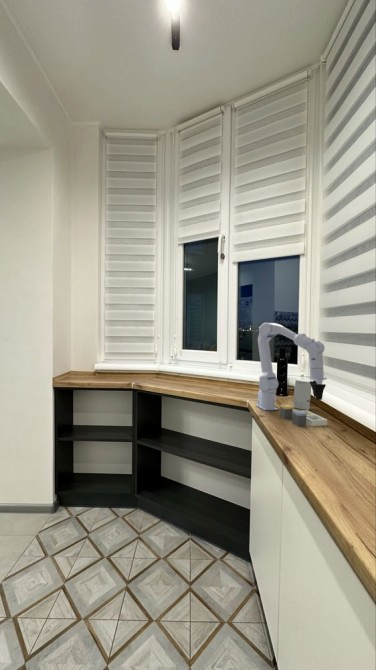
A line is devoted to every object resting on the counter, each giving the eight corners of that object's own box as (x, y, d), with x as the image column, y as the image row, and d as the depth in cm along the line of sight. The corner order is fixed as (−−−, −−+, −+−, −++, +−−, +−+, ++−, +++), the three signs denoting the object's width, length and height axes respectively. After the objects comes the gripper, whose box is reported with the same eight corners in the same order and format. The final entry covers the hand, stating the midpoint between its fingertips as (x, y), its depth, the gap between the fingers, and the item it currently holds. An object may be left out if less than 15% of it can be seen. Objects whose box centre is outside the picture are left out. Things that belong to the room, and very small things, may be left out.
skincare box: (292, 408, 157) (294, 379, 156) (293, 405, 162) (295, 378, 161) (310, 410, 153) (311, 381, 152) (310, 407, 159) (312, 380, 158)
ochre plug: (279, 416, 142) (280, 404, 141) (287, 415, 143) (287, 404, 142) (284, 418, 138) (285, 407, 138) (292, 418, 139) (292, 406, 139)
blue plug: (292, 423, 132) (293, 410, 132) (300, 422, 133) (300, 410, 133) (297, 426, 128) (298, 413, 128) (306, 425, 129) (306, 413, 129)
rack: (292, 416, 142) (292, 411, 142) (306, 415, 144) (306, 410, 144) (311, 426, 129) (311, 420, 129) (327, 425, 131) (327, 419, 131)
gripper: (328, 369, 128) (330, 401, 127) (323, 366, 142) (324, 395, 141) (311, 369, 130) (312, 401, 129) (307, 366, 143) (308, 395, 143)
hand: (317, 398), depth 135 cm, fingers open, 7 cm apart
